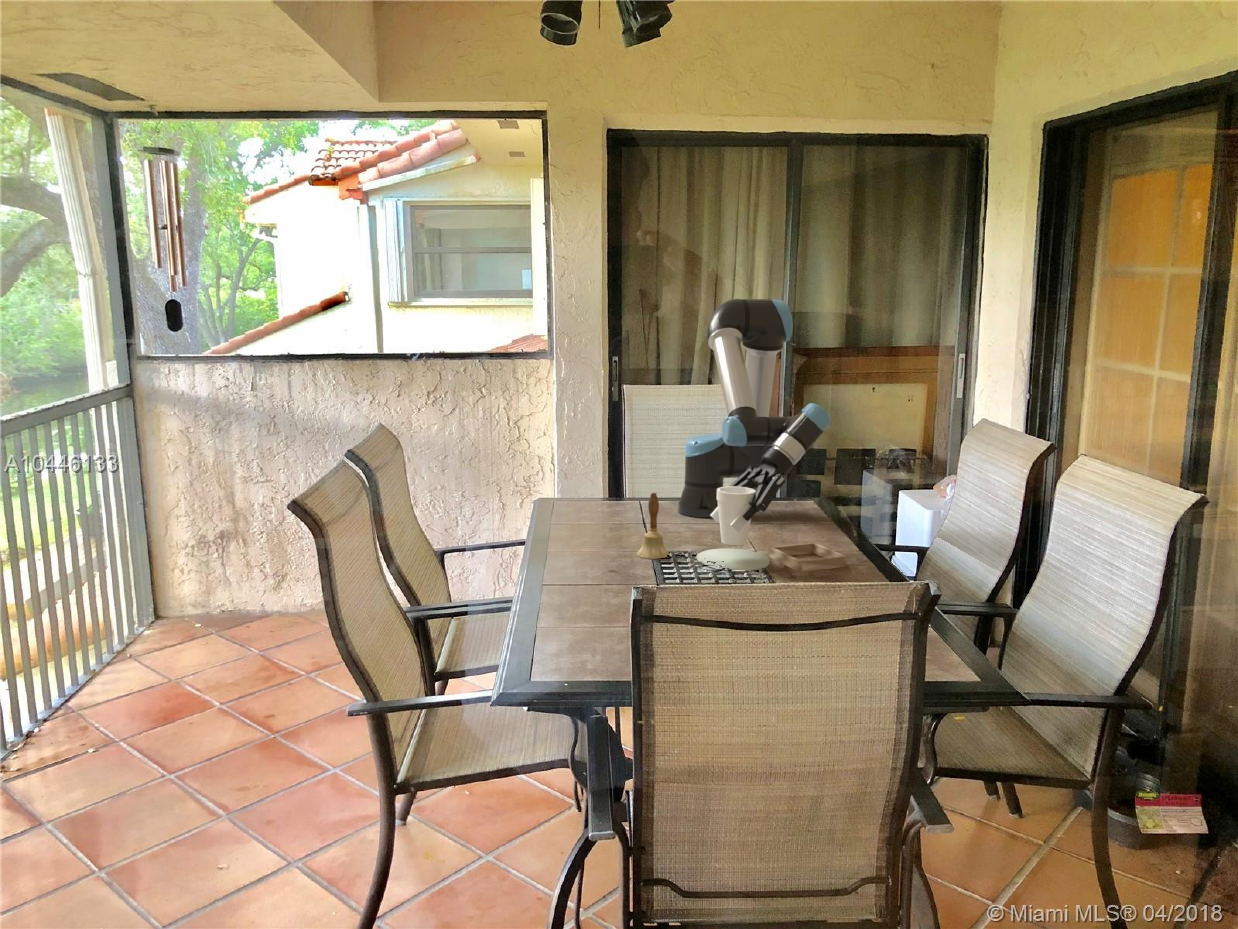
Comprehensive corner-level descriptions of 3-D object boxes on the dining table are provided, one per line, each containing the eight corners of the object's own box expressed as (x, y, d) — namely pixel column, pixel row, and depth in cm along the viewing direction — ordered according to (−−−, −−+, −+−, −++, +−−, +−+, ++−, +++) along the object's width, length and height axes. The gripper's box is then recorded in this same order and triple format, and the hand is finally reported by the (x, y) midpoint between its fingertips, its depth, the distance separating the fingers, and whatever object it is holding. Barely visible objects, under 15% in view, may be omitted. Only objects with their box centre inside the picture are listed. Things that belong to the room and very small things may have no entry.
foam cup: (752, 548, 217) (754, 495, 215) (713, 545, 219) (715, 493, 217) (754, 538, 226) (756, 487, 224) (717, 536, 228) (719, 485, 226)
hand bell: (659, 561, 222) (660, 498, 219) (630, 556, 226) (631, 493, 224) (675, 554, 229) (677, 492, 226) (647, 548, 233) (648, 488, 231)
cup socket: (768, 556, 228) (769, 547, 227) (814, 551, 233) (814, 542, 233) (799, 572, 216) (799, 562, 215) (846, 566, 221) (847, 556, 220)
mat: (681, 559, 225) (681, 556, 225) (729, 546, 236) (729, 544, 236) (736, 576, 211) (736, 573, 211) (784, 562, 223) (784, 560, 223)
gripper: (816, 474, 215) (756, 544, 212) (767, 459, 235) (711, 523, 232) (799, 453, 212) (737, 524, 209) (750, 439, 232) (693, 504, 229)
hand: (723, 523), depth 221 cm, fingers closed on foam cup, 9 cm apart
